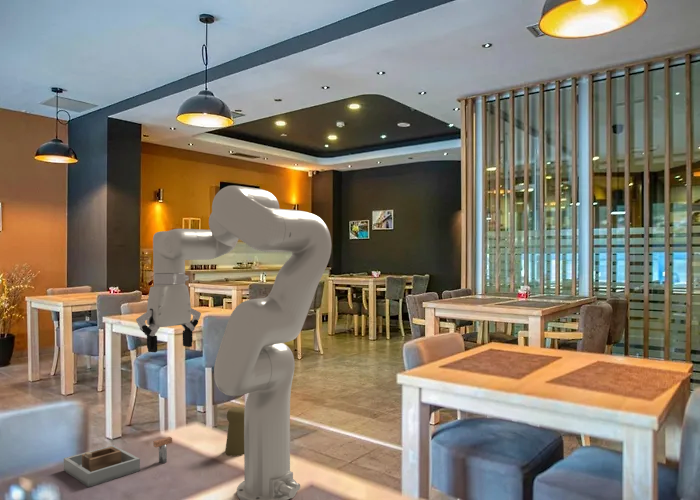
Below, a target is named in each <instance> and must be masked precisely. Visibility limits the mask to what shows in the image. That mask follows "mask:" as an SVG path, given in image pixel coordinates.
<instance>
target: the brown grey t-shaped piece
mask: <svg viewBox="0 0 700 500" xmlns="http://www.w3.org/2000/svg"><path fill="white" fill-rule="evenodd" d="M172 443H173V438H172V436H167V437H164V438H161V439H156V440H154V441H153V443H152V445H153V447H154V448H158V463H159V464H165V463H167V462H168V458H167V457H168V455H167V454H168V452H167V451H168V450H167V449H168V446H167V445H169V444H172Z"/></svg>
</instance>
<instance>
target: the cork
mask: <svg viewBox="0 0 700 500" xmlns="http://www.w3.org/2000/svg"><path fill="white" fill-rule="evenodd" d="M244 412H245V407H242V406H237V407H236V406H235V407H232V408H229V409H228V410H227V411H226V419H227V421H228V427H227V434H226V441H225V442H226V444H225V451H224V453H225V455H226V456H230V455H232V456H231V457H238V456H237V455H240V456H243V455H242V454H244Z"/></svg>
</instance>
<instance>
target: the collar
mask: <svg viewBox="0 0 700 500" xmlns="http://www.w3.org/2000/svg"><path fill="white" fill-rule="evenodd" d="M107 447H108V446H107ZM103 448H104V447H103ZM96 450H97V449H96ZM92 451H93V450H92ZM84 453H85V454H82V453H81V454H82V467H83V468H85V469H87V470H88V471H90V472H92V471H96V470H99V469H102V468H106V467H109V466H112V465H116V464H119V463H121V451H120V450H118V449H116V448H114V447H108V448H104V449H101V450H97V451H93V452H89V451H85V452H84Z"/></svg>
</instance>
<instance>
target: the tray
mask: <svg viewBox="0 0 700 500" xmlns="http://www.w3.org/2000/svg"><path fill="white" fill-rule="evenodd" d="M108 447H114V448H116V449H118V450H120V451H121V463H119V464H116V465H112V466H109V467H106V468H102V469H99V470H96V471H92V472H90V471H88V470H87V469H85V468H83V467H82V454H85V453H86V452H82V453H79V454H75V455H71V456H69V457H64V458H63V471H64V472H65V473H67V474H68V475H70V476H71V477H73V478H74V479H76V480H77V481H78V482H80V483H82V485H84V486H86V487H88V488H90V487H93V486H96V485H99V484H103V483H106V482H109V481H112V480H115V479H118V478H121V477H124V476H128V475H131V474H134V473H137V472H140V471H141V458H140V457H137V456H136V455H134V454H132V453H130V452H128V451H126V450H124V449H122V448H120V447H118V446H116V445H114V444H111V445H108V446H105V447H101V448H97V449H93V450H90V451H88V452H93V451H97V450H101V449H104V448H108Z"/></svg>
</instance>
